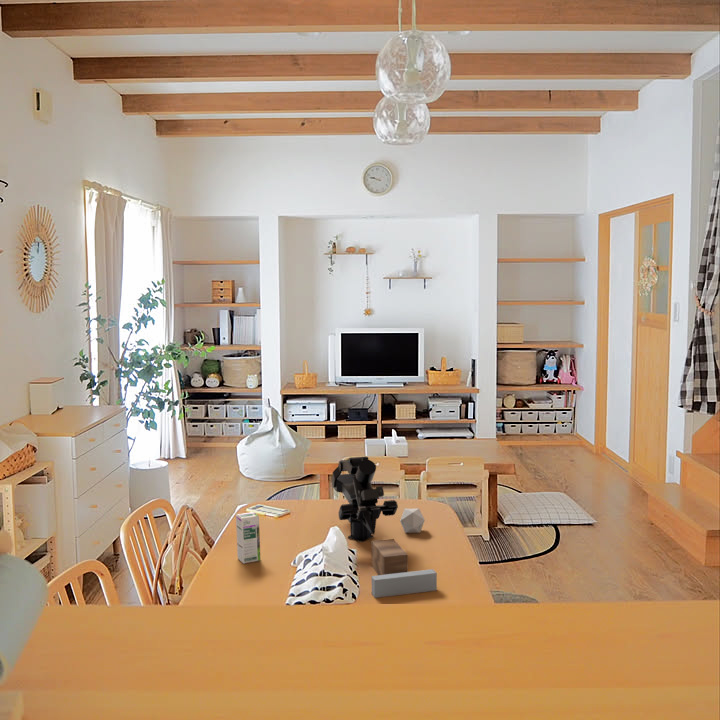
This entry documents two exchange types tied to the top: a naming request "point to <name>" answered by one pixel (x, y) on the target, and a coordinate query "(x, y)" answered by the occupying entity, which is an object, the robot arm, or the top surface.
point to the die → (412, 520)
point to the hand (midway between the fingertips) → (373, 533)
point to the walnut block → (388, 557)
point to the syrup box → (248, 537)
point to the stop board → (404, 583)
